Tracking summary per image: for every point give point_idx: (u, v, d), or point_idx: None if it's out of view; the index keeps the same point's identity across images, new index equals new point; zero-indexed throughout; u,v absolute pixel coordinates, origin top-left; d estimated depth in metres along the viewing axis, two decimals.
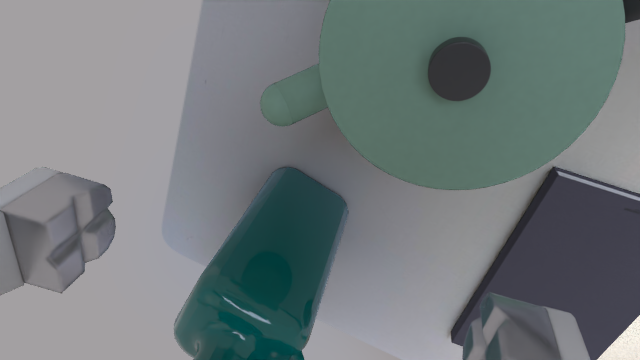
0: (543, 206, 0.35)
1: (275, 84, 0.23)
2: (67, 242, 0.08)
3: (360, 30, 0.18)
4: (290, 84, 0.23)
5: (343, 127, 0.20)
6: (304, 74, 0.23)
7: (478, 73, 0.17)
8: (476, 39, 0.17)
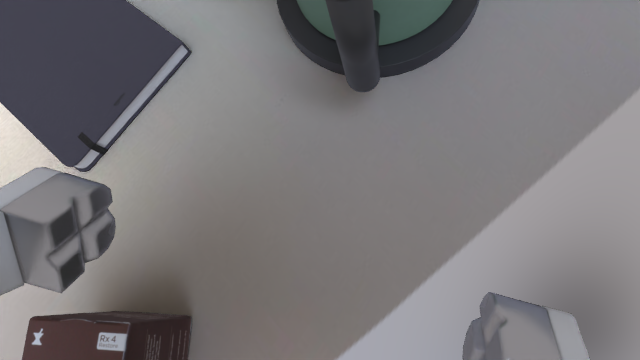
0: (154, 26, 0.33)
1: None
2: (67, 242, 0.08)
3: None
4: None
5: None
6: None
7: None
8: None
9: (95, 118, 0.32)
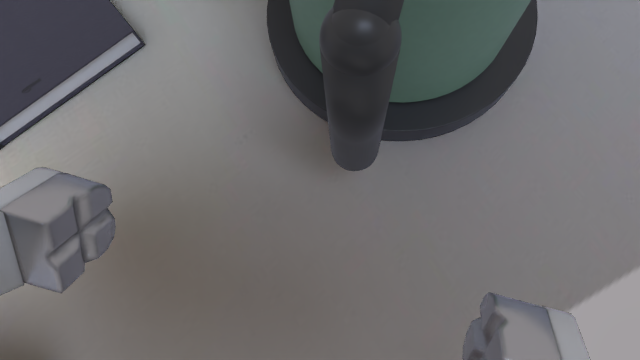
0: (101, 0, 0.25)
1: None
2: (67, 242, 0.08)
3: None
4: None
5: None
6: None
7: None
8: None
9: None
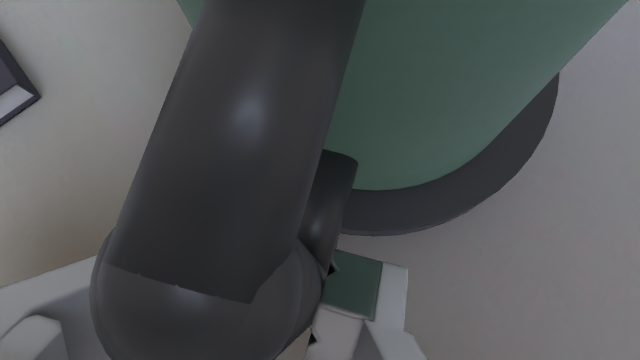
0: None
1: None
2: None
3: None
4: None
5: None
6: None
7: None
8: None
9: None
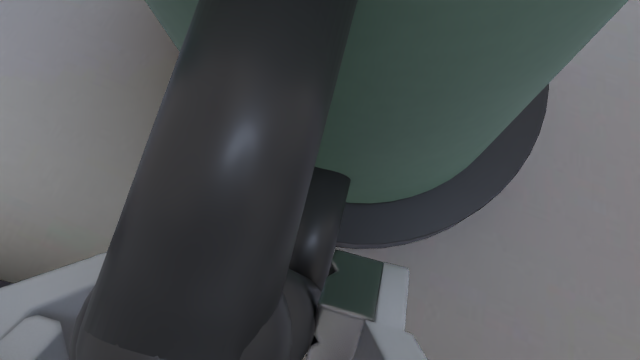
0: None
1: None
2: None
3: None
4: None
5: None
6: None
7: None
8: None
9: None
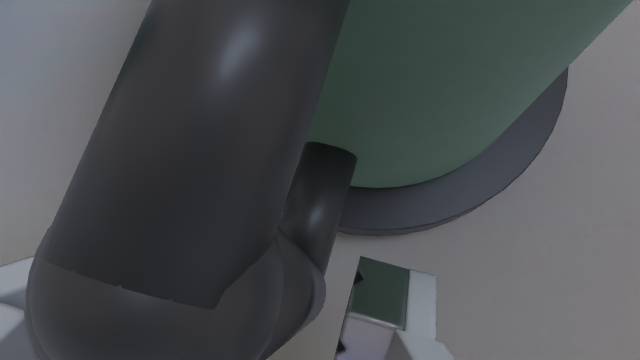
0: None
1: None
2: None
3: None
4: None
5: None
6: None
7: None
8: None
9: None
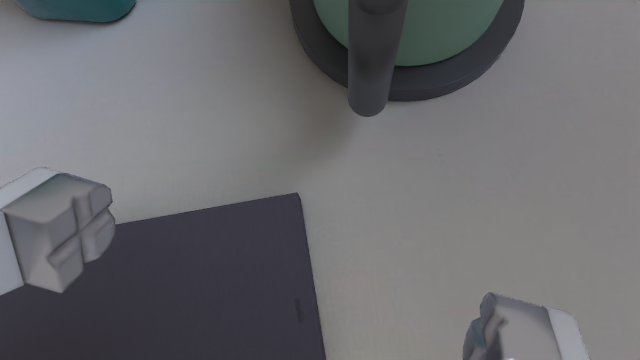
0: (247, 207, 0.24)
1: None
2: (67, 242, 0.08)
3: None
4: None
5: None
6: None
7: None
8: None
9: (295, 357, 0.22)
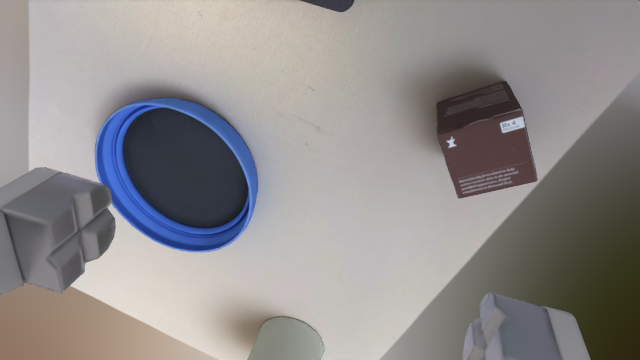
0: None
1: None
2: (67, 242, 0.08)
3: None
4: None
5: None
6: None
7: None
8: None
9: None
